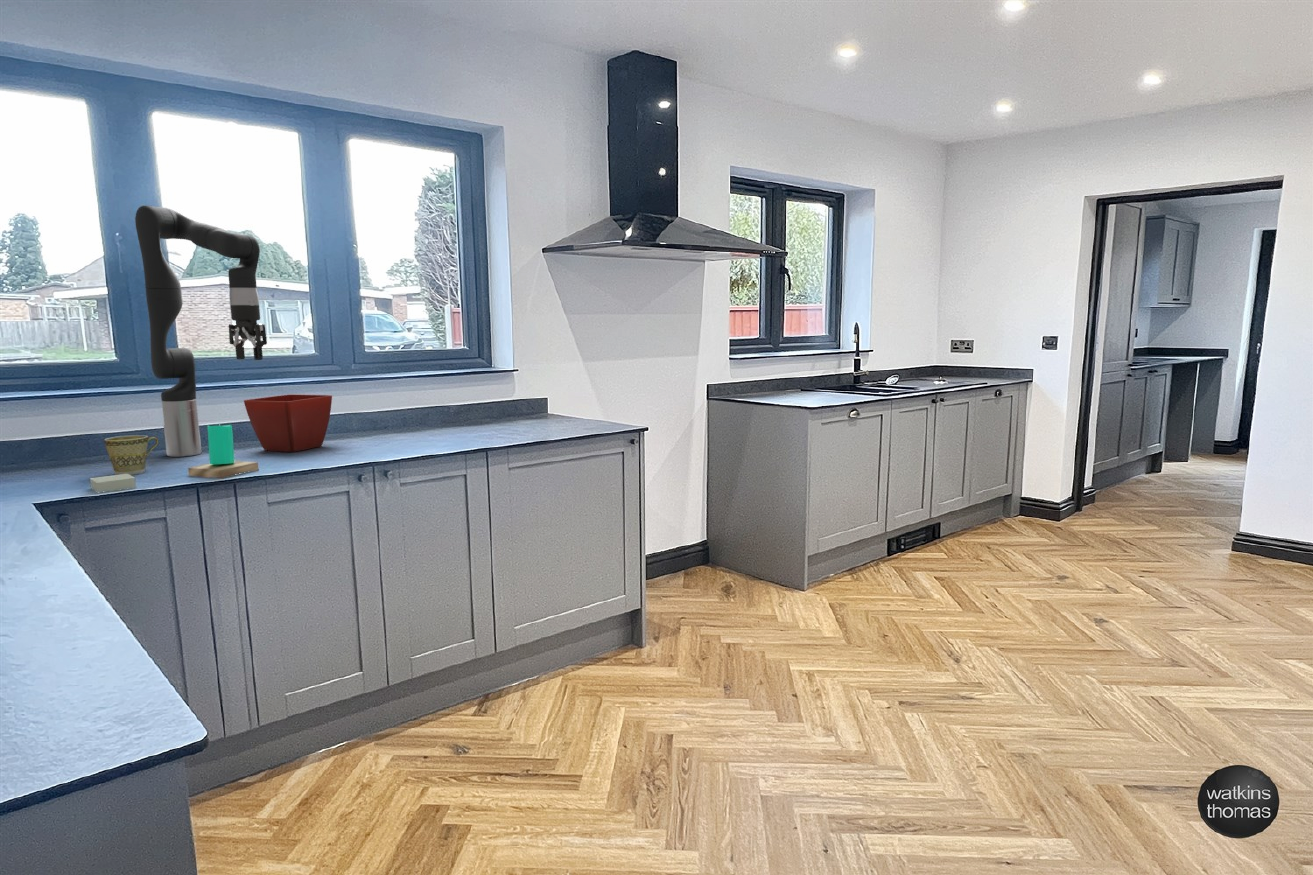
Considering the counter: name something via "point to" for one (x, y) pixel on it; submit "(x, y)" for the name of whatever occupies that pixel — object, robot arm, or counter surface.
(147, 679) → the counter surface
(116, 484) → the sage block
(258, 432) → the plant pot
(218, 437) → the candle
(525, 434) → the counter surface
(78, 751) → the counter surface
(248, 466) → the oak block
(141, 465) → the ceramic cup
